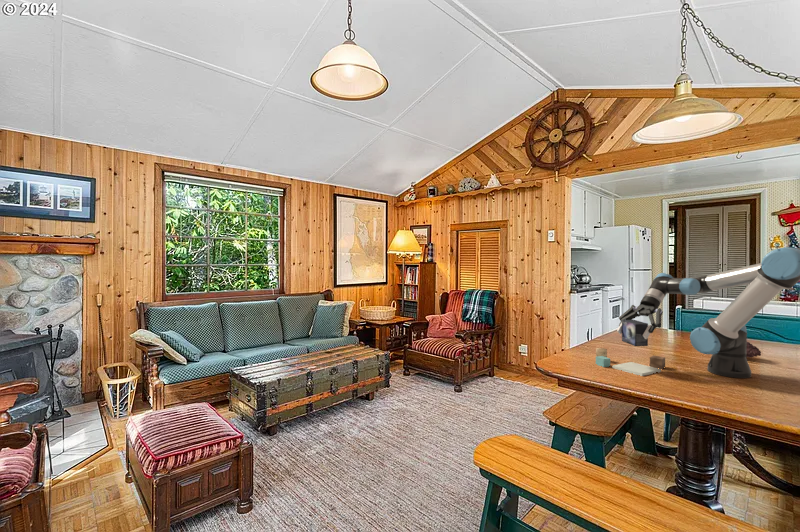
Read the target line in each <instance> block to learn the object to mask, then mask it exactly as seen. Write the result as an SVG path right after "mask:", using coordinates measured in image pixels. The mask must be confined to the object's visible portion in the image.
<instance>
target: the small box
mask: <svg viewBox="0 0 800 532" xmlns="http://www.w3.org/2000/svg"><path fill="white" fill-rule="evenodd" d="M648 325H649V323H647V322H643V321H639V320H636V319H632V320H622V333H621V341H622V342H624V343H626V344H629V345H631V346H634V347H648V346H649V337H648V338H647V339H645V338H644V337H643V334H644V332H645V330H646V329H647V327H648Z"/></svg>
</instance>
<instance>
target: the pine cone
mask: <svg viewBox="0 0 800 532" xmlns="http://www.w3.org/2000/svg"><path fill="white" fill-rule="evenodd" d="M758 356H759V357H761V356H762V351H761V350H760V349H759V348H758V347H757V346H755V345H753V344H752V343H751V342H749V341H747V346H746V358H755V357H758Z"/></svg>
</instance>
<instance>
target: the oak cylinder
mask: <svg viewBox="0 0 800 532" xmlns="http://www.w3.org/2000/svg"><path fill="white" fill-rule="evenodd" d="M597 356H604V357H607V358H608V349H607V348H605V347H602V348H601V347H597V348H595V358H596V357H597Z"/></svg>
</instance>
